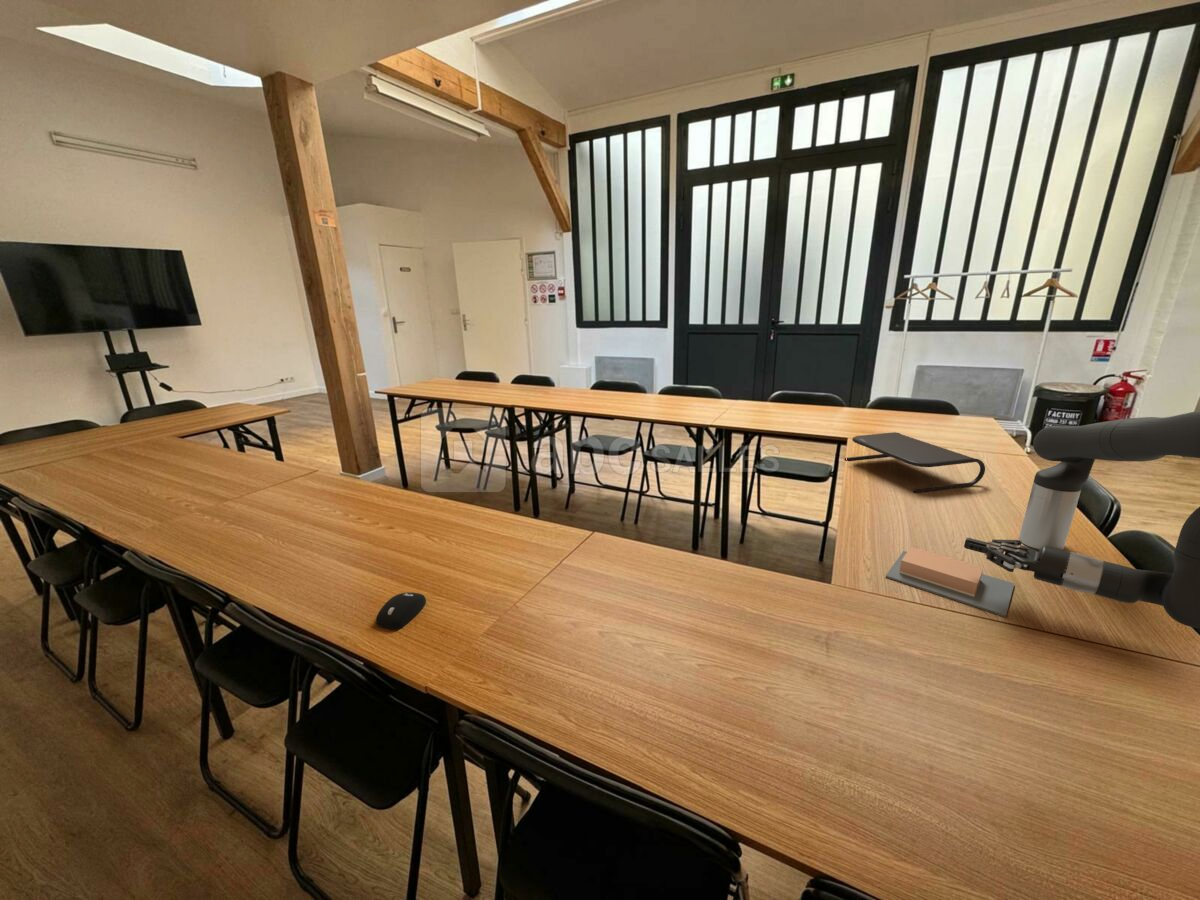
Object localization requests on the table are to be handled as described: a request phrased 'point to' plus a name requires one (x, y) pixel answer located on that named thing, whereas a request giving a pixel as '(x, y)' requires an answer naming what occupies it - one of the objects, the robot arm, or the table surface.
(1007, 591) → the mat
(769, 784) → the table surface
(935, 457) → the monitor stand
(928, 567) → the peach rectangular block
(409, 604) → the computer mouse
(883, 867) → the table surface
